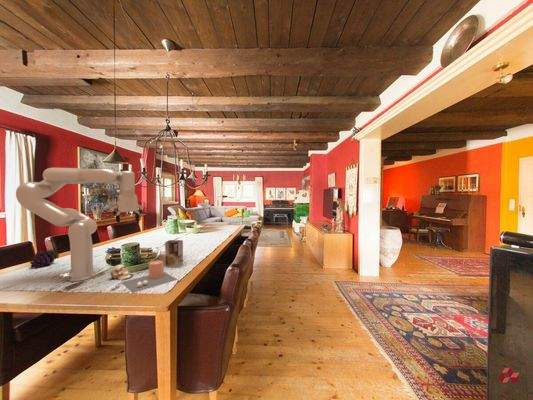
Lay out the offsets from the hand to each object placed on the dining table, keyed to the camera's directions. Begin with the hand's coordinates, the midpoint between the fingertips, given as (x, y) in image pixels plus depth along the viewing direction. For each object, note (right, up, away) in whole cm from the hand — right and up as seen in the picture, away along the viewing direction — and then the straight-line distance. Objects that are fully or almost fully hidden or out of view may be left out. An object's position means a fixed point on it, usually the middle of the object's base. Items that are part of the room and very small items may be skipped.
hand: (127, 221), depth 133 cm
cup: (+20, -30, -6) cm, 37 cm away
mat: (+20, -31, -13) cm, 39 cm away
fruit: (-61, -30, +12) cm, 69 cm away
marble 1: (+18, -31, -20) cm, 41 cm away
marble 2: (+20, -31, -18) cm, 41 cm away
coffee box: (+22, -30, +14) cm, 40 cm away
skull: (+1, -31, -8) cm, 32 cm away
